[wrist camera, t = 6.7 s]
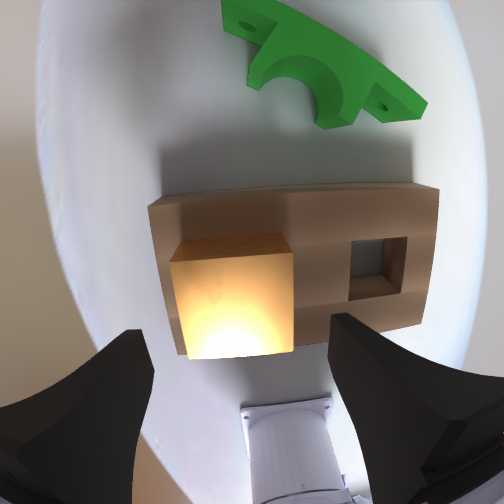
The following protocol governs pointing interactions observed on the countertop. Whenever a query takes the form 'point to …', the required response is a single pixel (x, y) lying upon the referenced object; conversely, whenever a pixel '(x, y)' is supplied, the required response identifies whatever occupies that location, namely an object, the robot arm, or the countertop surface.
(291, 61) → the pipe clamp
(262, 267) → the orange block
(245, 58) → the countertop surface
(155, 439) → the countertop surface
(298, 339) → the board
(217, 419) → the countertop surface
